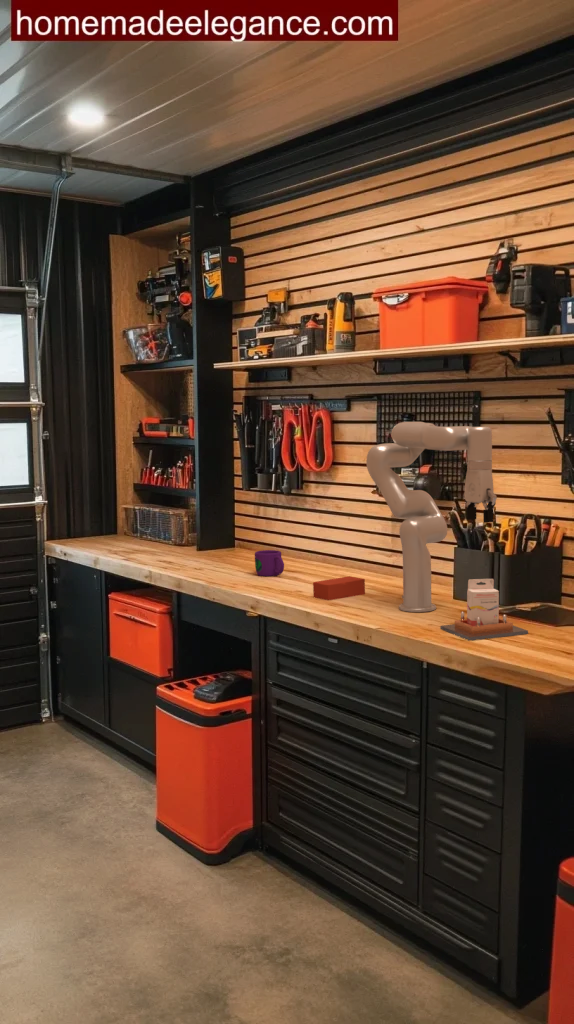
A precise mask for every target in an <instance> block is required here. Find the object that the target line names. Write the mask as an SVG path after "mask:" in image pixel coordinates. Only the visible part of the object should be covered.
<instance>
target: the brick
mask: <svg viewBox="0 0 574 1024" xmlns="http://www.w3.org/2000/svg"><path fill="white" fill-rule="evenodd" d="M365 581H366V579H365V578H359V577H355V576H350V575H349V576H342V577H336V578H330V579H325V580H318V581H313V582H312V587H313V588H312V590H313V598H314V597H315V599H321V600H324V601H333V600H339V599H346V598H352V597H356V596H362V595H366V582H365Z"/></svg>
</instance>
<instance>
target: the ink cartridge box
mask: <svg viewBox="0 0 574 1024" xmlns="http://www.w3.org/2000/svg"><path fill="white" fill-rule="evenodd" d="M479 583H483V584H479ZM484 583H485V584H484ZM494 583H495V580H494V578H475V579H470V578H469V579H468V582H467V594H466V603H467V604H466V613H467V614H466V619H467V624H469V625H471V626H477V617H480V625H488V624H497V623H499V618H500V617H499V615H500V614H499V613H500V612H499V611H500V610H499V609H500V604H499V603H500V593H499V592H500V591H499V590H498V589H496V588H494V587H495V586H494V585H495V584H494Z"/></svg>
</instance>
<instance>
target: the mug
mask: <svg viewBox="0 0 574 1024" xmlns="http://www.w3.org/2000/svg"><path fill="white" fill-rule="evenodd" d="M254 566H255V573H256V575H258V576H259V577H277V576H279V575H281V574H283V572H284V571H285V570H284V569H285V563H284V560H283V558H282V551H280V550H277V549H276V550H275V549H268V550H266V549H264V550H259V551H255V552H254Z"/></svg>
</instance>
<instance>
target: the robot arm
mask: <svg viewBox="0 0 574 1024" xmlns="http://www.w3.org/2000/svg"><path fill="white" fill-rule="evenodd" d="M390 435H391V439H392V440H393V441H392V442H393V443H392V442H389V443H388V442H387V443H380V444H376V445H374V446H372V447H371V448H370V449H369V450H368V452H367V454H366V462H365V463H366V469H367V472H368V474H369V476H370V479H372V481H373V482H374V484H375V485H376V486H377V488H378V489H379V491H380V493H381V496H382V497H383V499H384V500H385V503H386V505H387V506H388V507H389V509H390V511H391V512H392V513H391V514H392V515H393V516H394V517H395V518H397V519H400V520H401V519H404V520H403V521H402V522H401V523H400V526H399V530H398V531H399V537H400V539H399V540H400V543H401V549H402V551H401V553H402V591H403V592H402V595H401V599H402V600H403V601H402V603H400V604H399V605H398V609H399V610H400V611H402V612H403V611H404V612H408V613H409V612H410V613H411V612H412V613H425V612H426V613H427V612H431V611H435V610H436V609H437V605H436V604H435V603H432V558H431V553H430V551H429V548H428V546H427V545H428V544H435V543H439V542H441V541H444V540H445V538H447V535H448V525H447V521H446V520H445V517H444V516H443V514H442V513H441V511H440V509H439V507H438V506H437V504H436V502H435V500H434V499H433V497H432V496H431V495H430V494H429V493H428V492H427V491H425V490H422V489H413V490H411V489H409V488H408V487H407V486H406V484H405V482H404V481H403V479H402V477H401V476H400V475H398V474H397V473H396V472H395V471H394V470H393V469H391V468H404V467H408V466H410V465H411V464H413V463H414V462H415V461H416V460H417V458H418V457H419V456H420V455H421V454H422V453H423V451H425V450H430V451H431V450H433V451H451V452H452V451H467V455H466V459H467V465H466V466H467V471H466V473H465V475H466V476H465V481H464V482H465V483H464V492H463V496H464V502H465V507H466V520H469V521H471V520H473V521H474V520H477V506H476V505H477V504H482V506H483V508H484V509H483V517H482V519H483V523H484V524H485V523H493V522H494V510H495V506H496V501H497V495H496V493H495V492H494V479H493V478H494V477H493V432H492V428H491V427H490V426H470V425H469V426H468V425H464V426H462V425H461V426H436V425H435V424H434V423H432V422H423V421H402V422H399V423H397V424H395V426H394V427H393V428H392V430H391V434H390Z"/></svg>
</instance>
